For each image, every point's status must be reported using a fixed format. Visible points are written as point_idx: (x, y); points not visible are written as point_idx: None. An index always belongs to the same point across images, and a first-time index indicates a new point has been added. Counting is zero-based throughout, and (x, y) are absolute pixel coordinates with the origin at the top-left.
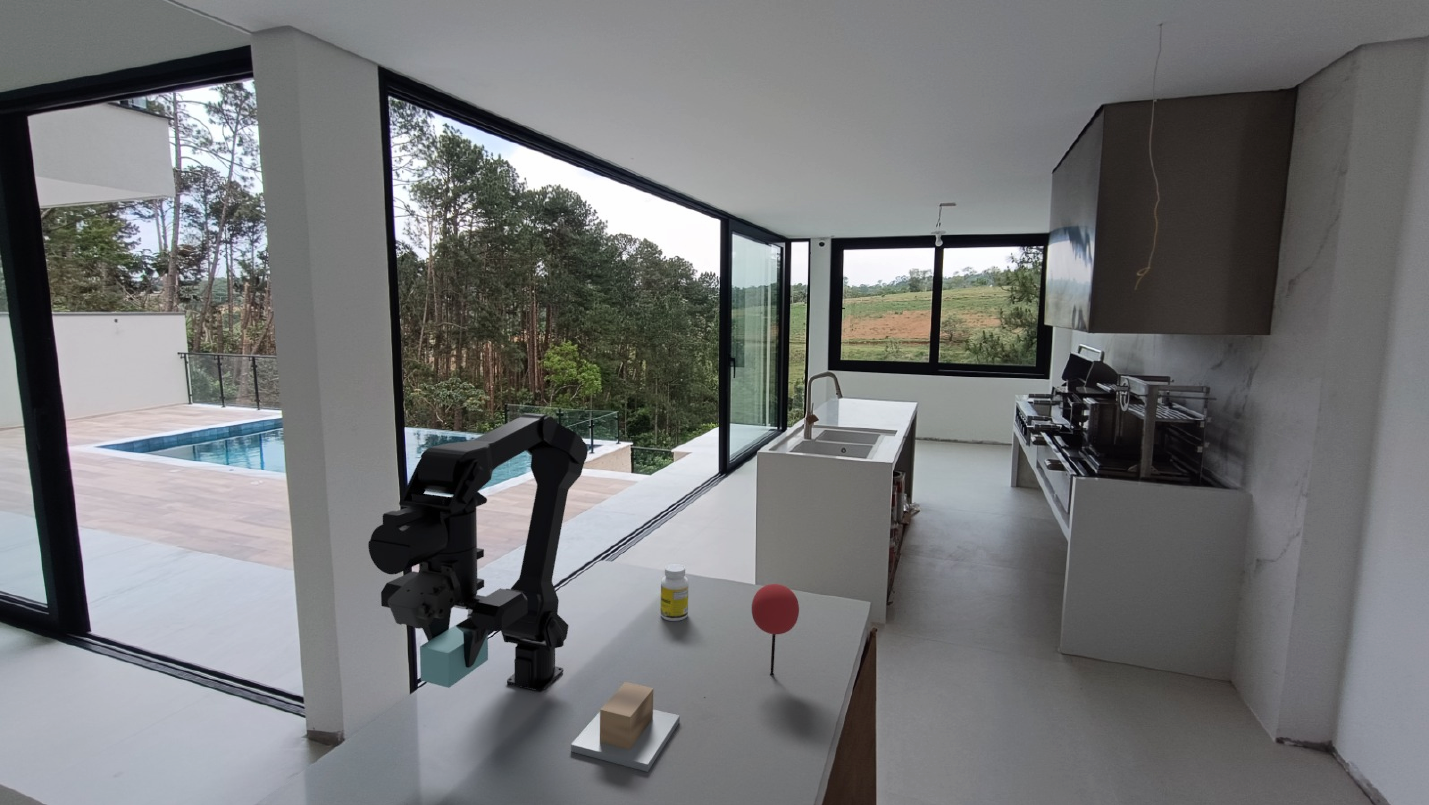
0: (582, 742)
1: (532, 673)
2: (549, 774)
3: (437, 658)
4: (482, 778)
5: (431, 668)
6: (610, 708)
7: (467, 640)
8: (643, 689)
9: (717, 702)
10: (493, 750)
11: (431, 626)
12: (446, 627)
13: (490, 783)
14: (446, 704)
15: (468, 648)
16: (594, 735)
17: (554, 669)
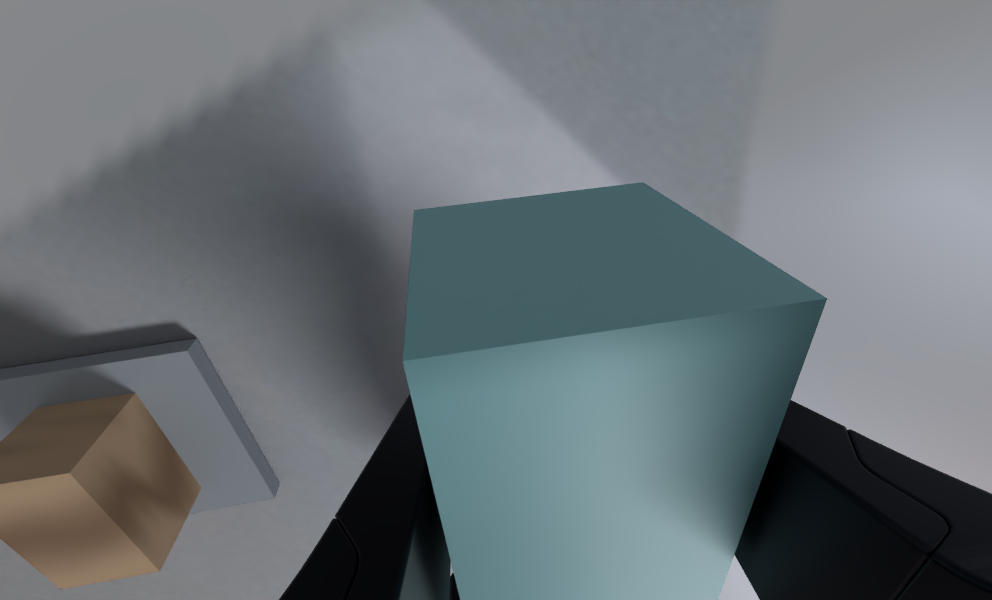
0: (170, 370)
1: None
2: (152, 247)
3: (549, 288)
4: (299, 138)
5: (588, 232)
6: (48, 490)
7: (337, 591)
8: (77, 575)
9: (93, 585)
10: (382, 244)
11: (902, 558)
12: (758, 568)
13: (257, 133)
14: None
15: (365, 501)
16: (172, 401)
17: None
